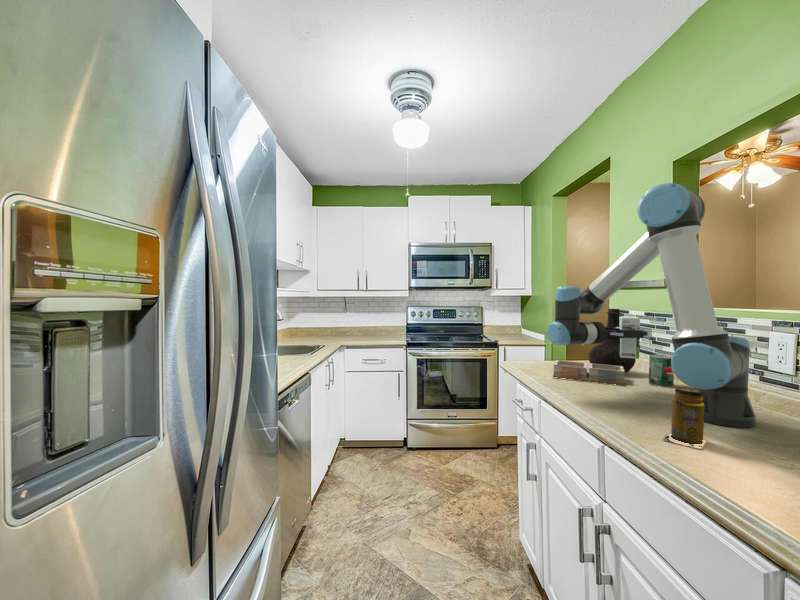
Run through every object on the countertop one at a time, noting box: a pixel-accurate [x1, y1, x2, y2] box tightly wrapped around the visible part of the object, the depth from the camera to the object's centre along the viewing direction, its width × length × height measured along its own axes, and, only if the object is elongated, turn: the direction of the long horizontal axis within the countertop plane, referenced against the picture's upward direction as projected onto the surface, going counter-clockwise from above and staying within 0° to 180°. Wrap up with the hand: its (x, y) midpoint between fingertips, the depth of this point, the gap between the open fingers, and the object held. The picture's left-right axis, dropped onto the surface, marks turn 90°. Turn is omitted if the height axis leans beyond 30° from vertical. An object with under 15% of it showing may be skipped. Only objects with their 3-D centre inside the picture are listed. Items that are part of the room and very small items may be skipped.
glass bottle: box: [588, 308, 637, 374], centre depth 167 cm, size 18×18×28 cm
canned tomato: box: [648, 354, 675, 389], centre depth 146 cm, size 8×8×11 cm
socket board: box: [552, 359, 626, 387], centre depth 155 cm, size 15×25×5 cm, turn 63°
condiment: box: [662, 386, 708, 447], centre depth 90 cm, size 7×8×12 cm
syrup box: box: [619, 315, 641, 360], centre depth 137 cm, size 6×6×14 cm
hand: (639, 331), depth 138 cm, fingers closed on syrup box, 8 cm apart
